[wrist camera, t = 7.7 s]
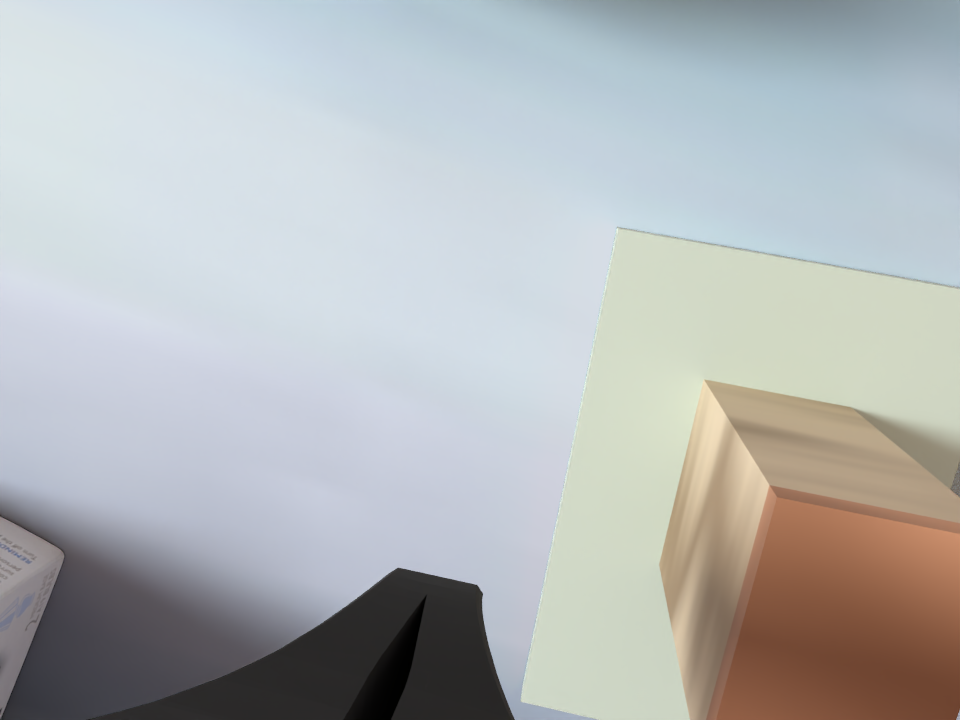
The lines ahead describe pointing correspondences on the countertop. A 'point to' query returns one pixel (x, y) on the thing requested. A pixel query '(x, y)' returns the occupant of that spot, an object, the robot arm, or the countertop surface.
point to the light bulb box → (22, 596)
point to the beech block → (810, 567)
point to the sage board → (668, 423)
